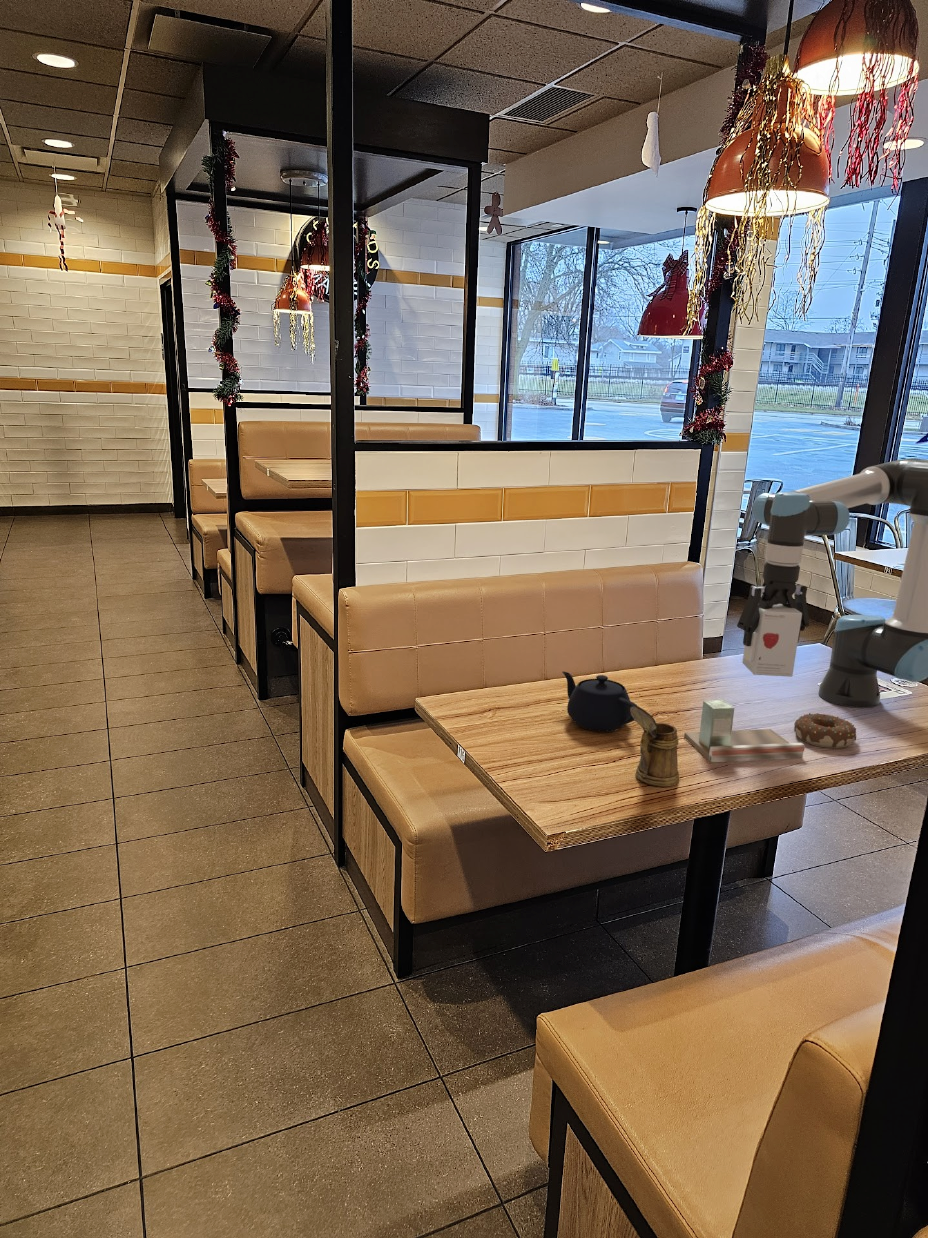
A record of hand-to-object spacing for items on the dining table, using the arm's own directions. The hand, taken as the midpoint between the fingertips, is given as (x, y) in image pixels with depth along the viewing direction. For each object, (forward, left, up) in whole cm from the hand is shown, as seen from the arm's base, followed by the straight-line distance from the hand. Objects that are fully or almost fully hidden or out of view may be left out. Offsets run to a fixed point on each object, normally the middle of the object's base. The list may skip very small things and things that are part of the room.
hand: (768, 658), depth 190 cm
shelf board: (+6, +3, -20) cm, 21 cm away
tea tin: (+13, +4, -19) cm, 24 cm away
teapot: (+35, -15, -21) cm, 43 cm away
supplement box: (0, 0, -3) cm, 3 cm away
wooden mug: (+34, +17, -21) cm, 43 cm away
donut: (-17, 0, -21) cm, 27 cm away
